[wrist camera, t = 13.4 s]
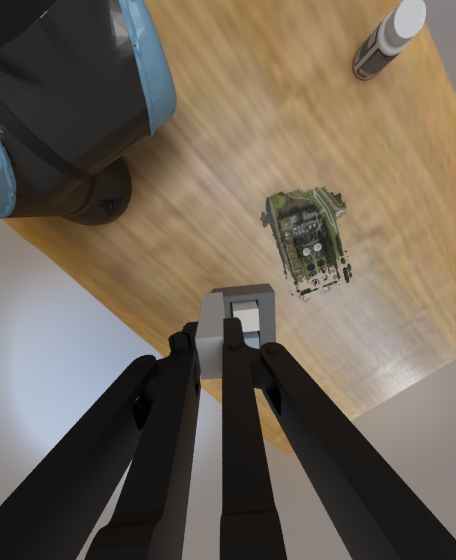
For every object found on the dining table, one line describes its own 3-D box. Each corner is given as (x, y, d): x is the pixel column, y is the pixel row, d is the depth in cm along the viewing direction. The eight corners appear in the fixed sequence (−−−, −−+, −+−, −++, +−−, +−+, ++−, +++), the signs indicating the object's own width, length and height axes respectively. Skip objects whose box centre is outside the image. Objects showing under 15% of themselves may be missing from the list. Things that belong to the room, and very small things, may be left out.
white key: (234, 322, 44) (235, 333, 40) (232, 302, 42) (233, 311, 38) (256, 320, 44) (259, 330, 40) (255, 299, 42) (258, 308, 38)
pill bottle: (385, 69, 34) (434, 26, 26) (357, 87, 35) (398, 50, 27) (376, 36, 33) (425, -19, 25) (348, 55, 34) (387, 7, 26)
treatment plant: (370, 270, 46) (383, 275, 42) (297, 311, 48) (303, 318, 45) (325, 160, 39) (335, 155, 35) (241, 214, 41) (243, 214, 38)
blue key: (236, 347, 47) (237, 358, 43) (234, 328, 46) (235, 339, 42) (256, 344, 47) (260, 356, 43) (255, 326, 46) (258, 337, 42)
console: (223, 371, 52) (223, 387, 47) (213, 288, 45) (212, 298, 41) (271, 367, 52) (276, 382, 47) (268, 283, 45) (274, 291, 41)
